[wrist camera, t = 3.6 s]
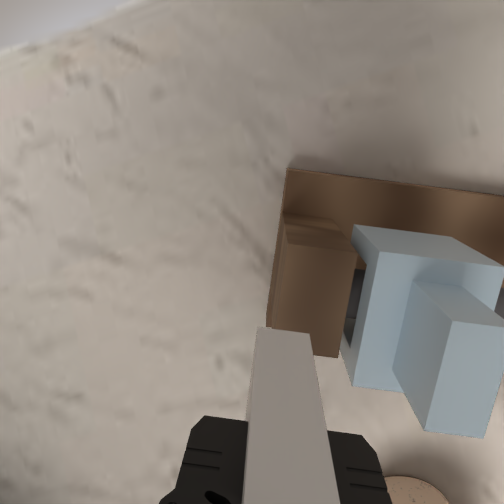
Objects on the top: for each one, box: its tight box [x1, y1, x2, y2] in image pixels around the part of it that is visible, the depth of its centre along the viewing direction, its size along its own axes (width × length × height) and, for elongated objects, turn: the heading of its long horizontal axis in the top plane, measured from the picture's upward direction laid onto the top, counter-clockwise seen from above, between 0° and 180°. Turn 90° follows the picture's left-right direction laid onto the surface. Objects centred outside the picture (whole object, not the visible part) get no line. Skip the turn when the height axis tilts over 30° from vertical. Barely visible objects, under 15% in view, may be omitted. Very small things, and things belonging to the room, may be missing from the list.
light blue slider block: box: [340, 224, 504, 439], centre depth 19 cm, size 5×6×10 cm
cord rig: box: [266, 168, 504, 358], centre depth 24 cm, size 25×10×10 cm, turn 83°
